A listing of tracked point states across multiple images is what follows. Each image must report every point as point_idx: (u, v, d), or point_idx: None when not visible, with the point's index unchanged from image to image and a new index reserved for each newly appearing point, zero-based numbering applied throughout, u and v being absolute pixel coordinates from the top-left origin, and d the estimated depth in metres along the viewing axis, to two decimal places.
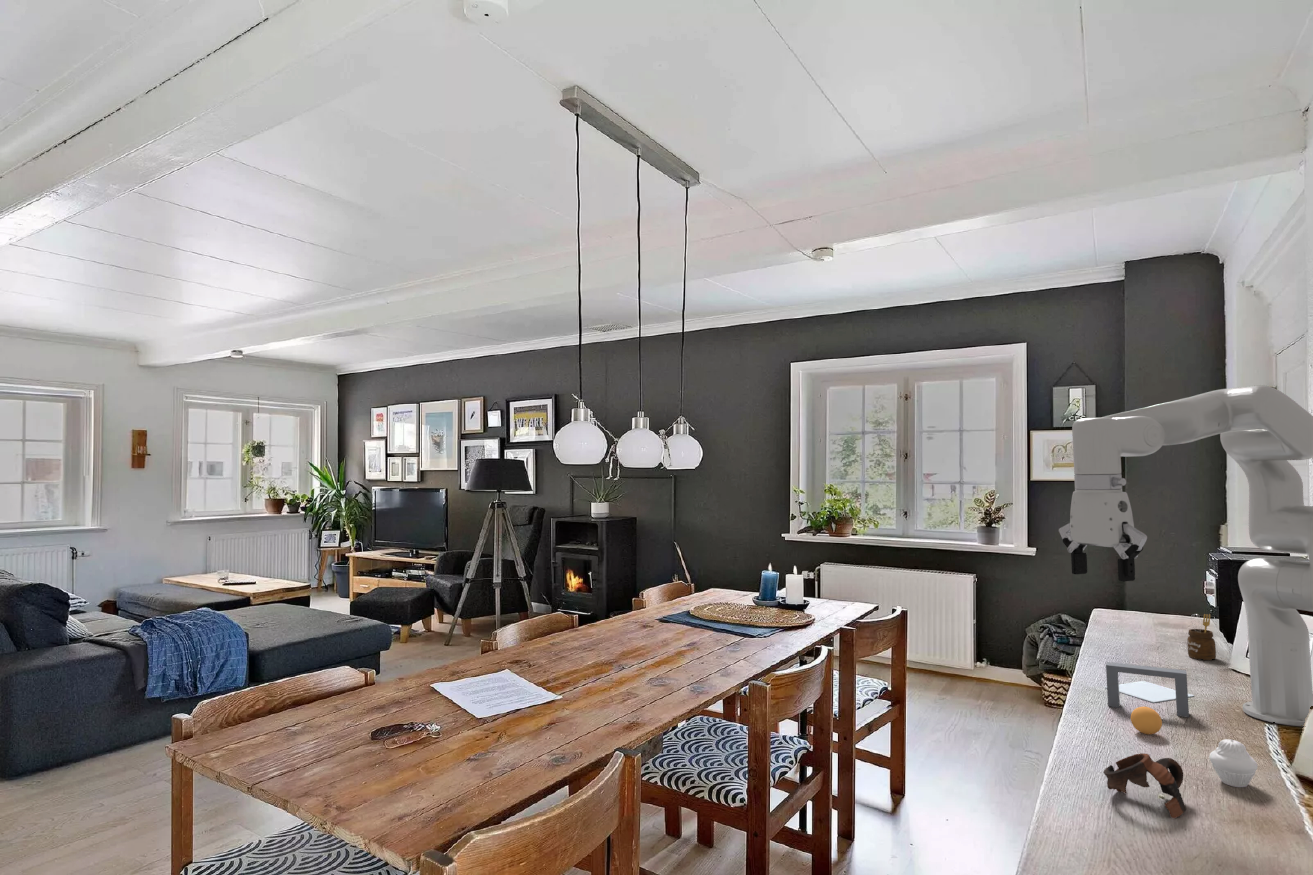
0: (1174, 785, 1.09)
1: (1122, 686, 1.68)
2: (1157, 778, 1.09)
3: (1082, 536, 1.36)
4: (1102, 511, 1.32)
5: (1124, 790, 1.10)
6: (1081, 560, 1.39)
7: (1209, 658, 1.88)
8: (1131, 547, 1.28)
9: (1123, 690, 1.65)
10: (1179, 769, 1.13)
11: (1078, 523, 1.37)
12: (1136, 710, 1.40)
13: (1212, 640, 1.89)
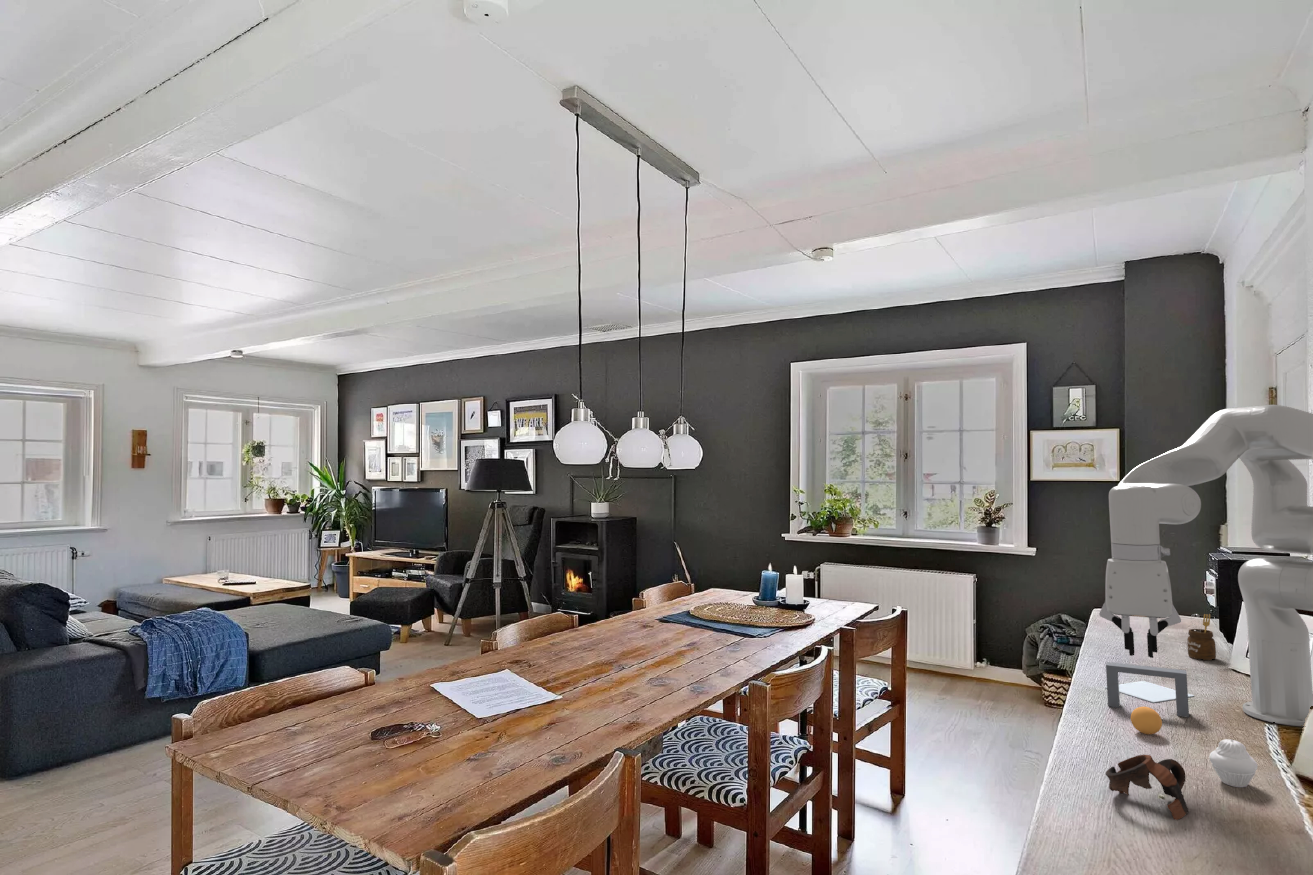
0: (1176, 786, 1.09)
1: (1122, 686, 1.68)
2: (1159, 779, 1.08)
3: (1125, 607, 1.33)
4: (1154, 582, 1.30)
5: (1126, 792, 1.10)
6: (1133, 640, 1.34)
7: (1209, 658, 1.88)
8: (1162, 623, 1.30)
9: (1123, 690, 1.65)
10: (1181, 770, 1.13)
11: (1121, 594, 1.33)
12: (1136, 710, 1.40)
13: (1212, 640, 1.89)
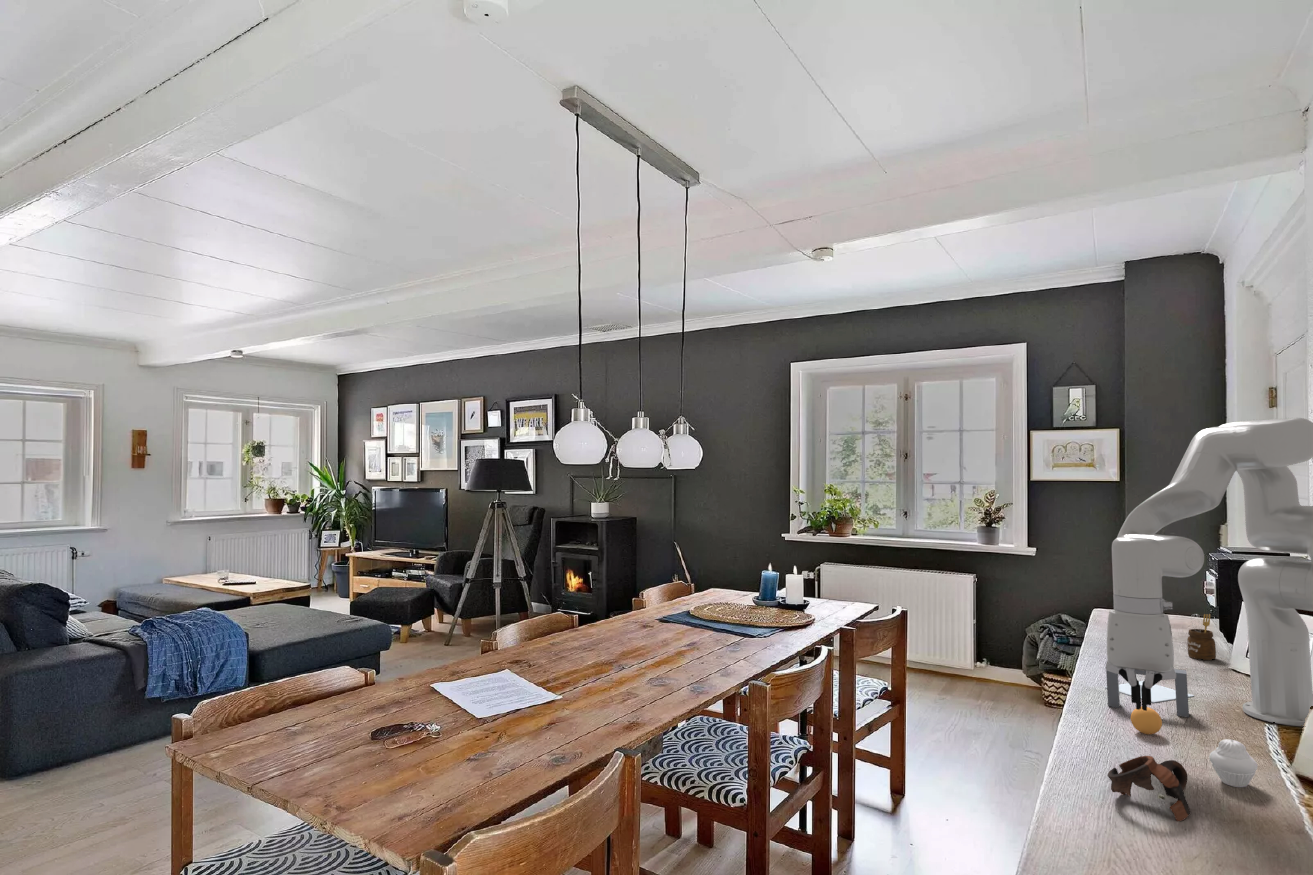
0: (1179, 788, 1.08)
1: (1122, 686, 1.68)
2: (1162, 781, 1.08)
3: (1126, 660, 1.32)
4: (1156, 636, 1.30)
5: (1129, 793, 1.09)
6: (1140, 693, 1.33)
7: (1209, 658, 1.88)
8: (1156, 676, 1.30)
9: (1123, 690, 1.65)
10: (1183, 772, 1.12)
11: (1122, 647, 1.32)
12: (1136, 710, 1.40)
13: (1212, 640, 1.89)
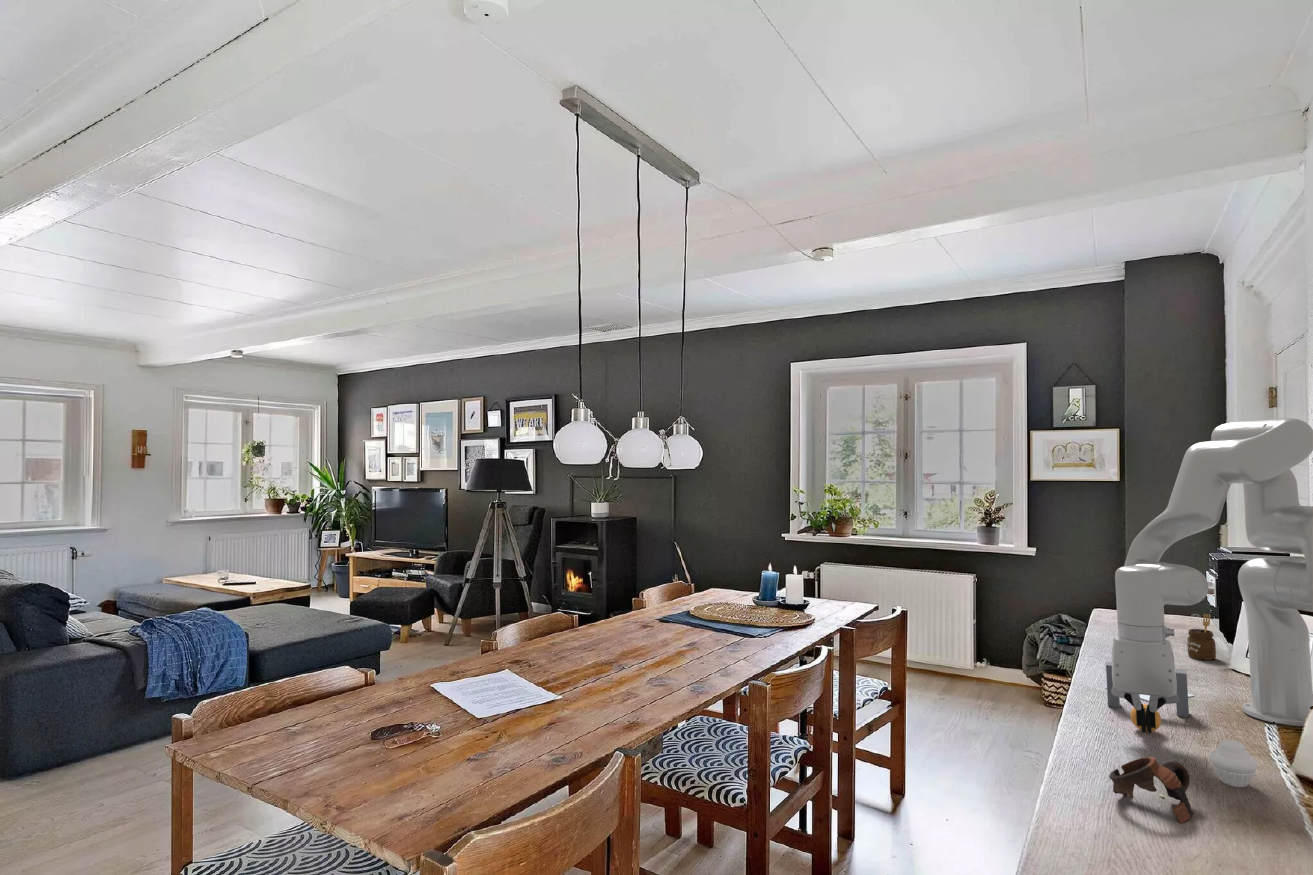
0: (1181, 789, 1.08)
1: None
2: (1164, 782, 1.08)
3: (1131, 685, 1.38)
4: (1159, 662, 1.35)
5: (1131, 794, 1.09)
6: None
7: (1209, 658, 1.88)
8: (1160, 701, 1.36)
9: None
10: (1185, 773, 1.12)
11: (1127, 672, 1.38)
12: None
13: (1212, 640, 1.89)
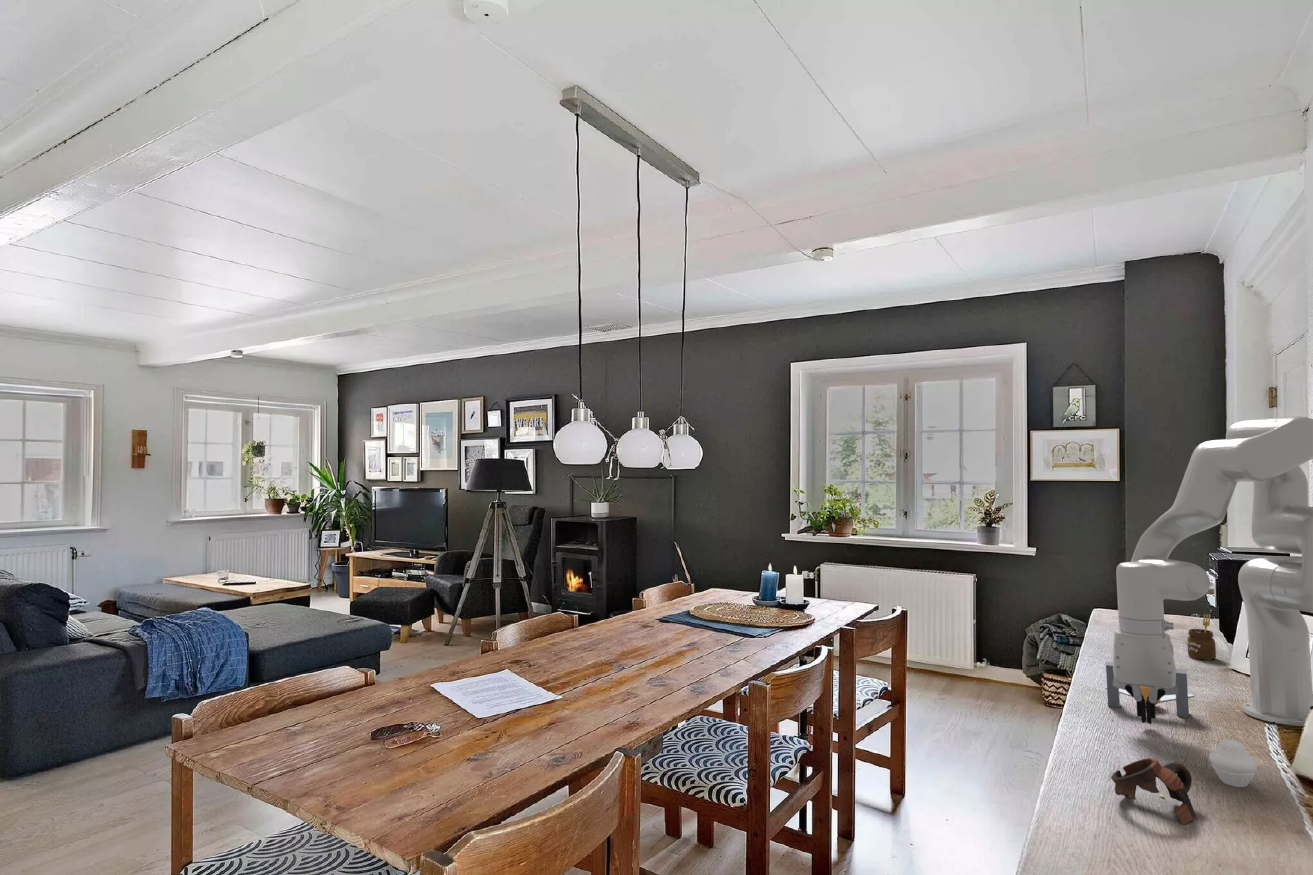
0: (1184, 790, 1.07)
1: None
2: (1167, 783, 1.07)
3: (1132, 677, 1.42)
4: (1159, 655, 1.40)
5: (1133, 796, 1.08)
6: (1145, 707, 1.43)
7: (1209, 658, 1.88)
8: (1160, 692, 1.41)
9: (1123, 690, 1.65)
10: (1187, 774, 1.11)
11: (1128, 665, 1.43)
12: None
13: (1212, 640, 1.89)
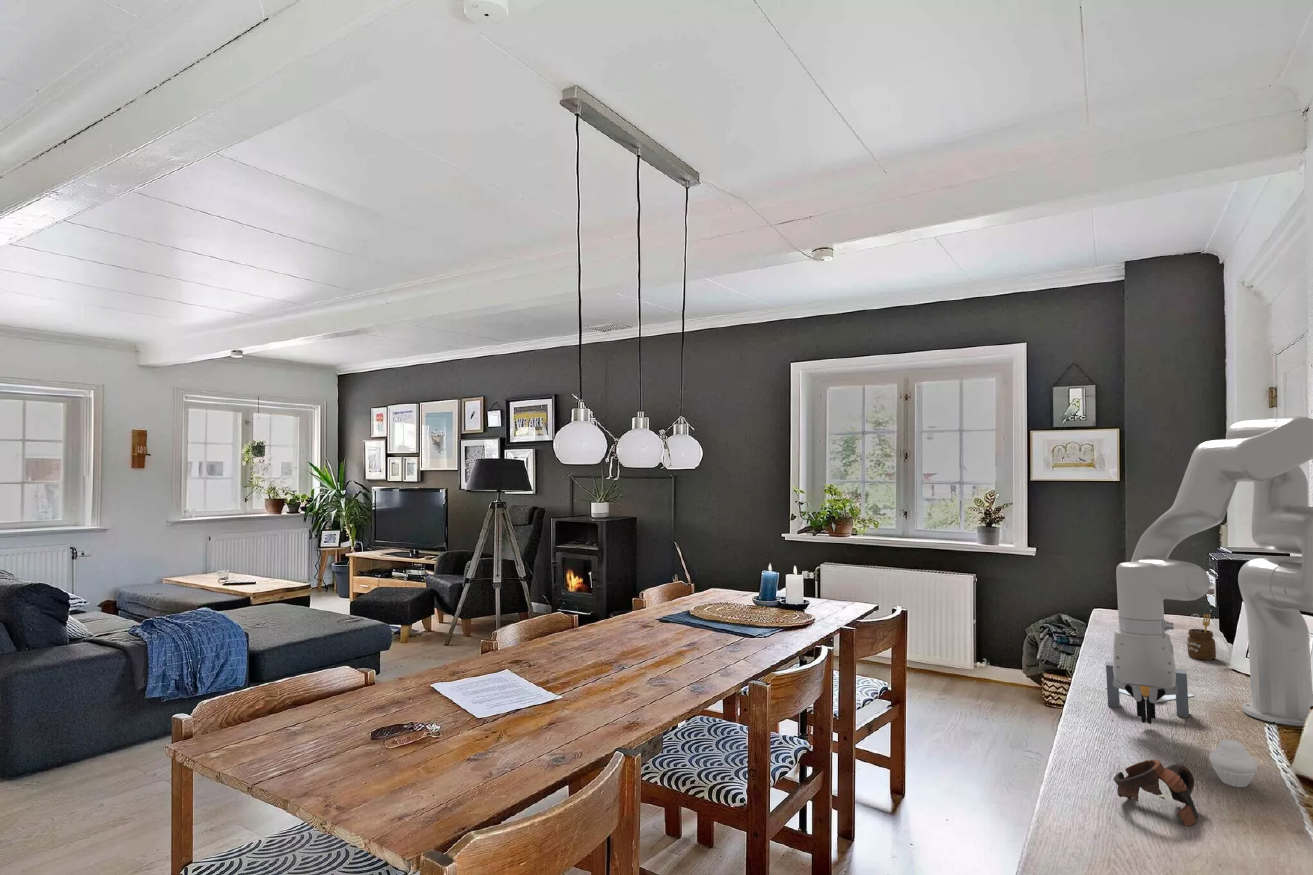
0: (1187, 792, 1.07)
1: None
2: (1170, 785, 1.06)
3: (1132, 677, 1.42)
4: (1159, 655, 1.40)
5: (1136, 798, 1.08)
6: (1145, 707, 1.43)
7: (1209, 658, 1.88)
8: (1160, 692, 1.41)
9: (1123, 690, 1.65)
10: (1190, 776, 1.11)
11: (1128, 665, 1.43)
12: None
13: (1212, 640, 1.89)
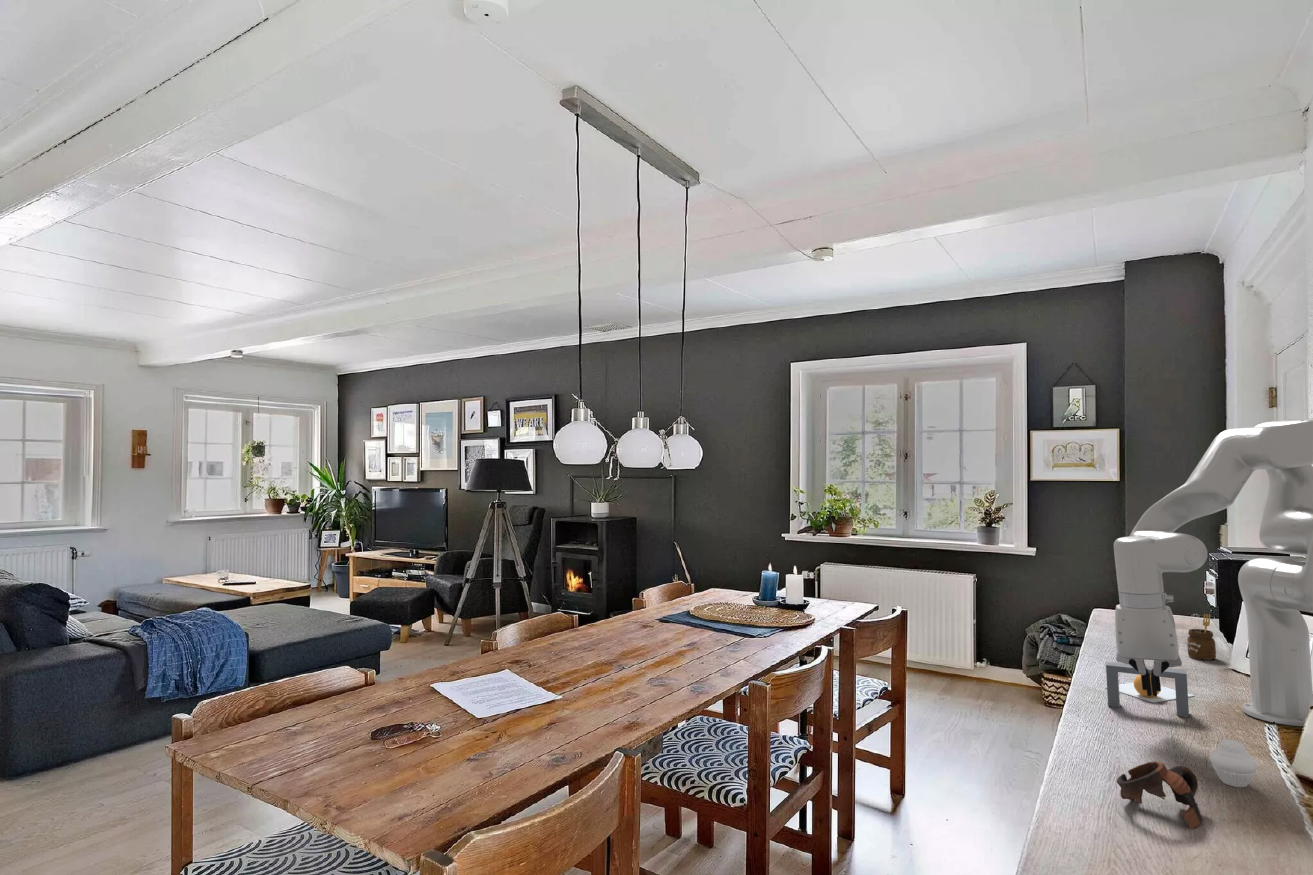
0: (1190, 794, 1.06)
1: (1122, 686, 1.68)
2: (1173, 787, 1.06)
3: (1135, 651, 1.43)
4: (1160, 628, 1.40)
5: (1140, 800, 1.07)
6: (1150, 680, 1.43)
7: (1209, 658, 1.88)
8: (1163, 665, 1.41)
9: (1123, 690, 1.65)
10: (1193, 777, 1.10)
11: (1130, 639, 1.43)
12: (1139, 693, 1.62)
13: (1212, 640, 1.89)
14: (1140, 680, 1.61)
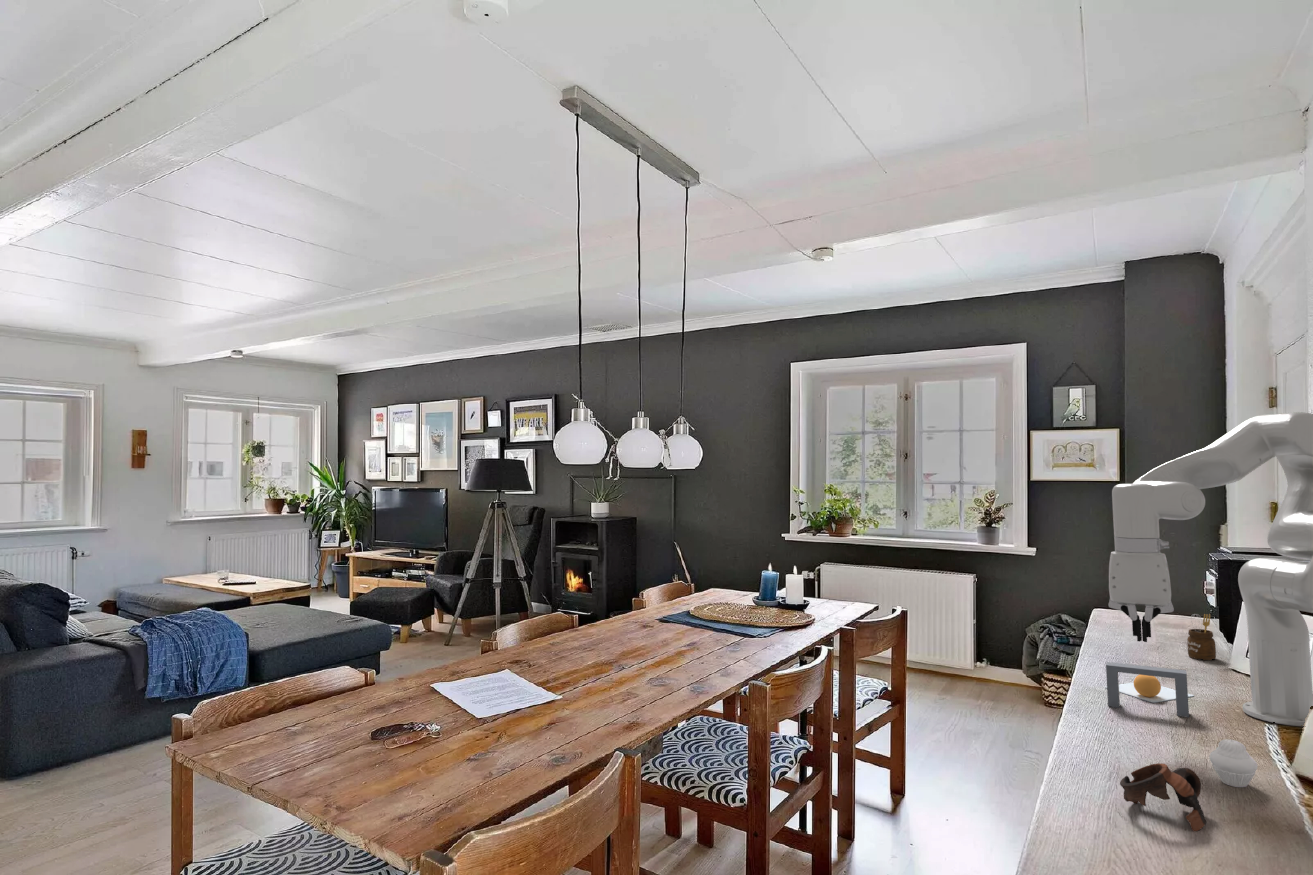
0: (1194, 797, 1.05)
1: (1122, 686, 1.68)
2: (1177, 790, 1.05)
3: (1127, 596, 1.43)
4: (1154, 573, 1.40)
5: (1143, 803, 1.06)
6: None
7: (1209, 658, 1.88)
8: (1155, 610, 1.41)
9: (1123, 690, 1.65)
10: (1196, 779, 1.10)
11: (1123, 584, 1.43)
12: (1139, 693, 1.62)
13: (1212, 640, 1.89)
14: (1140, 680, 1.61)
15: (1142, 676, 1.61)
